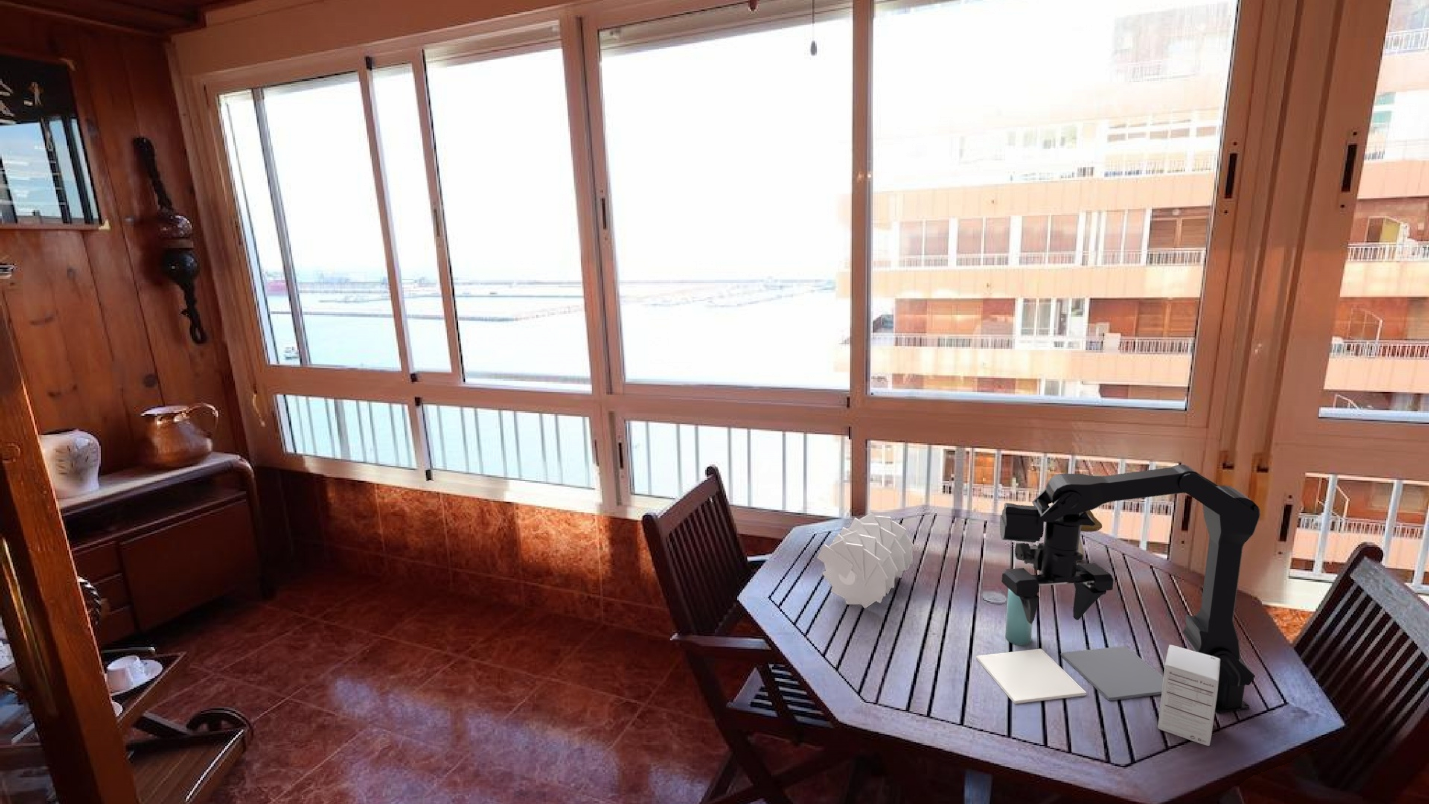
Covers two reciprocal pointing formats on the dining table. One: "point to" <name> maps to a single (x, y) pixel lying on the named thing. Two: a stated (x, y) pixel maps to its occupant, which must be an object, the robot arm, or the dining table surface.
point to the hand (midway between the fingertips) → (1052, 620)
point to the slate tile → (1116, 672)
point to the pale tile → (1030, 676)
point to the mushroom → (1089, 530)
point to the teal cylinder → (1017, 622)
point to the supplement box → (1189, 694)
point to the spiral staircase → (867, 559)
